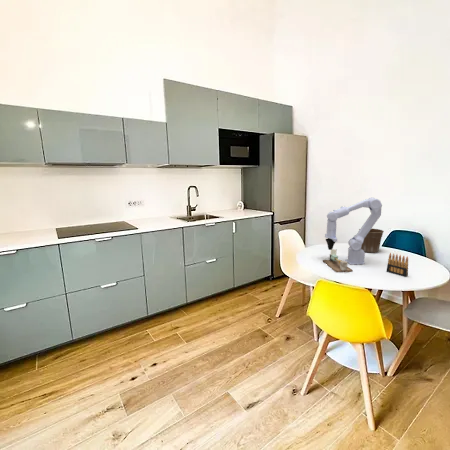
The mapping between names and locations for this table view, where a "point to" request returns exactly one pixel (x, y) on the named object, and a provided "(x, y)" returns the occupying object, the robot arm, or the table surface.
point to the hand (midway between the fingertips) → (330, 249)
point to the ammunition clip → (397, 265)
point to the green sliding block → (333, 254)
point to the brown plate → (338, 265)
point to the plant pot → (372, 241)
